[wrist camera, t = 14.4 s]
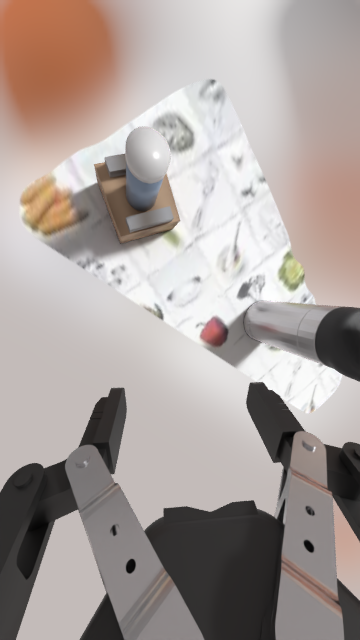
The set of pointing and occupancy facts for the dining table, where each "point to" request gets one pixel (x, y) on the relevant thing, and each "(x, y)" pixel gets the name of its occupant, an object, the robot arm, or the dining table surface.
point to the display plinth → (123, 214)
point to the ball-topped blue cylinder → (145, 166)
